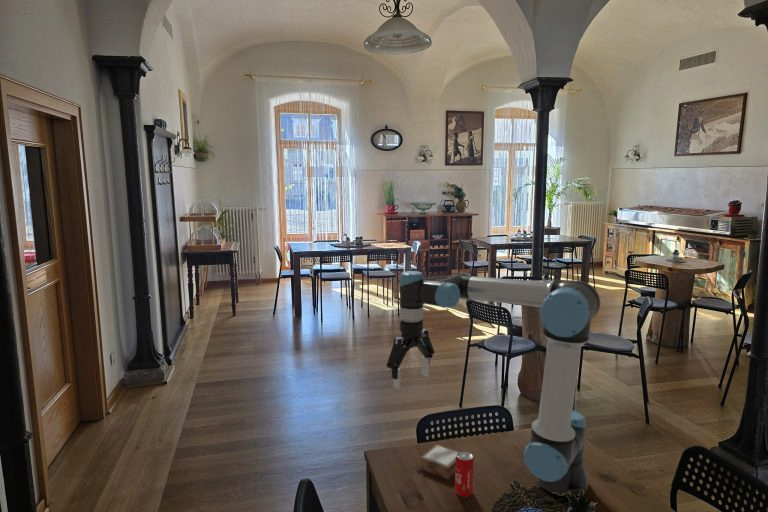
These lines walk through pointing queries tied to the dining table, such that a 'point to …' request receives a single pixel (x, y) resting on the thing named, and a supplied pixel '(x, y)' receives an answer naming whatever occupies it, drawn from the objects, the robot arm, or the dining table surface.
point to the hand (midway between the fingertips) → (411, 381)
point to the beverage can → (464, 474)
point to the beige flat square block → (440, 461)
